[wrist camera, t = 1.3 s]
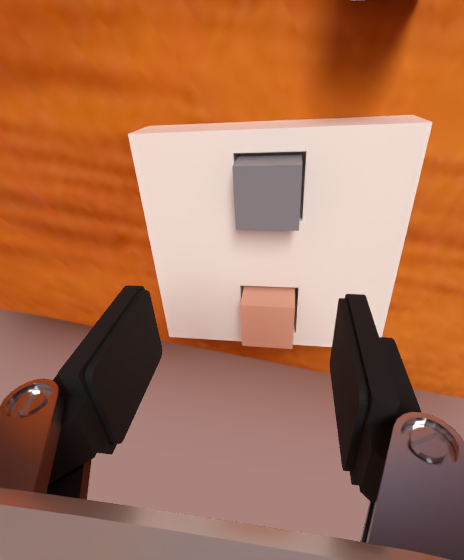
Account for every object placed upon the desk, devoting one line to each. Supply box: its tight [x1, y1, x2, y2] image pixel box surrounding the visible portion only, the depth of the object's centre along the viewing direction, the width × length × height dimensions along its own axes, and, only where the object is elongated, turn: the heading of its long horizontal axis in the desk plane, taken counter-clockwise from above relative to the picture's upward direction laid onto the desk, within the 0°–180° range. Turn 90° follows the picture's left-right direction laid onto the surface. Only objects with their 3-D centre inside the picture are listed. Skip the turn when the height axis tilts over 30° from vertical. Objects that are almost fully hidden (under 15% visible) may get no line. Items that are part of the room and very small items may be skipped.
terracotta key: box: [240, 286, 295, 349], centre depth 29 cm, size 4×4×3 cm
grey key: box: [232, 155, 302, 231], centre depth 23 cm, size 4×4×3 cm
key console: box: [128, 115, 432, 347], centre depth 29 cm, size 20×19×4 cm
